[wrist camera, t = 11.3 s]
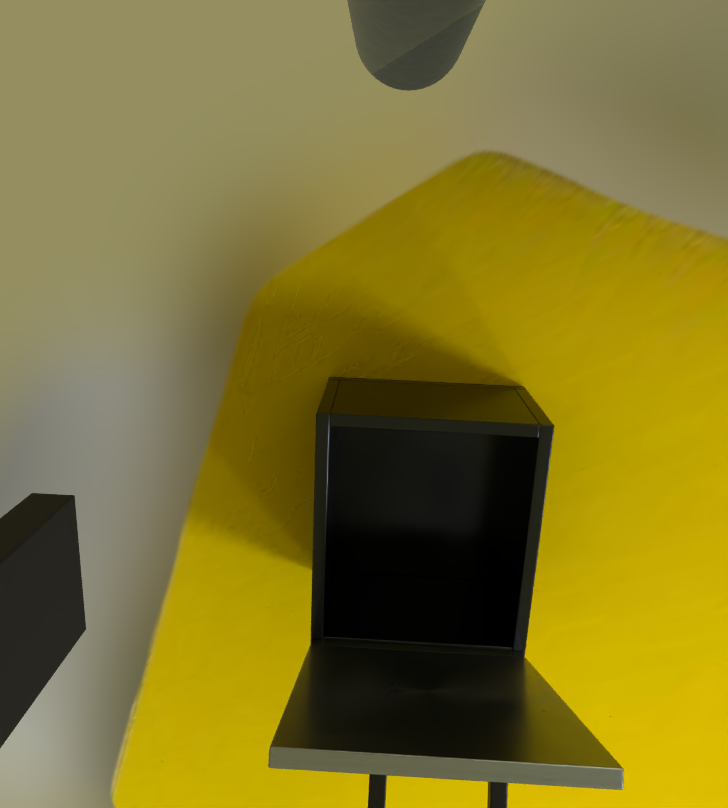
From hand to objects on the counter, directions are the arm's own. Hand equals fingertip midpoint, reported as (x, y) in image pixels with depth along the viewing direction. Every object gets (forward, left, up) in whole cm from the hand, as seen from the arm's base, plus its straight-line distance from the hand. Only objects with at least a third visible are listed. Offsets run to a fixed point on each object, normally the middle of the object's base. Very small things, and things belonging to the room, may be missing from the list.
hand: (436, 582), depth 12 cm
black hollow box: (+5, +12, -35) cm, 37 cm away
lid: (+7, +15, -18) cm, 25 cm away
